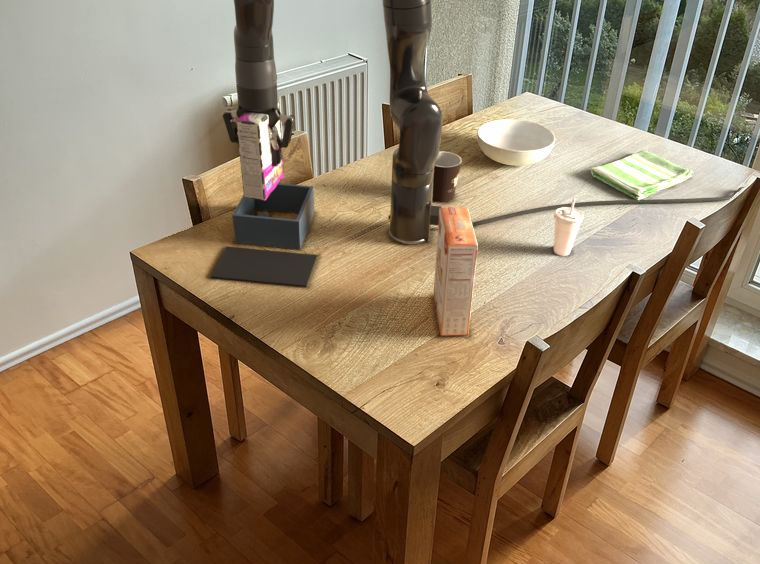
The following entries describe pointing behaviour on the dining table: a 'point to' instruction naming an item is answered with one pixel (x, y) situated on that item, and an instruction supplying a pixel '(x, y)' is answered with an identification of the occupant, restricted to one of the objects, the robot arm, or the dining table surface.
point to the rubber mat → (265, 266)
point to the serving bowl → (515, 141)
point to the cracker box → (454, 270)
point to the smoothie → (566, 228)
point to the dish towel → (641, 174)
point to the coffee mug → (446, 176)
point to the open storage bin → (275, 229)
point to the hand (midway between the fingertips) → (262, 163)
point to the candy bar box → (257, 156)
